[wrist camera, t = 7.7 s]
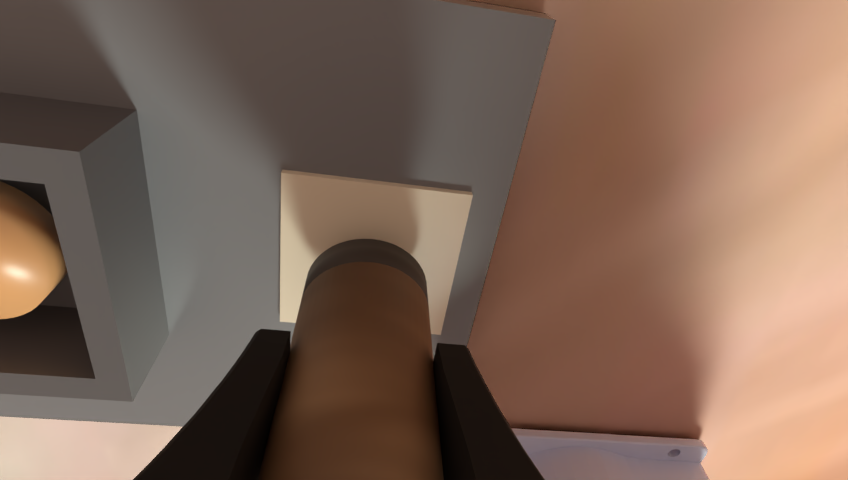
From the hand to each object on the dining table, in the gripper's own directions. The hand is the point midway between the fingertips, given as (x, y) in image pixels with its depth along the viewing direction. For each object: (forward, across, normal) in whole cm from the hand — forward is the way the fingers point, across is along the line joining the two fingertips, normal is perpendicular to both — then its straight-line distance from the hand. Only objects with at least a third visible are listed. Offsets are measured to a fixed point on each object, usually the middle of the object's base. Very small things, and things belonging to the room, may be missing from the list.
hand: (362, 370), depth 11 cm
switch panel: (+5, +6, 0) cm, 8 cm away
